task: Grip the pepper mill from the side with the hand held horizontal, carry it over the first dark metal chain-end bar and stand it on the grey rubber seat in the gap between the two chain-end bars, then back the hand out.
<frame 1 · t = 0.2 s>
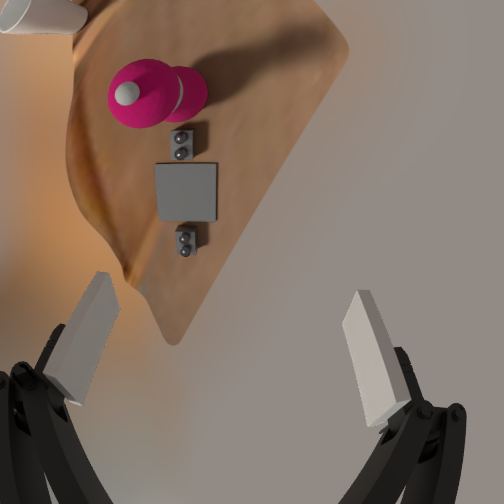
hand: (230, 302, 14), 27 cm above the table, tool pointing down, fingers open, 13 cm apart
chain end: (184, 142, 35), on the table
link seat: (185, 192, 38), on the table
pepper mill: (185, 94, 31), on the table
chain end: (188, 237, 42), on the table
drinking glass: (76, 21, 22), on the table
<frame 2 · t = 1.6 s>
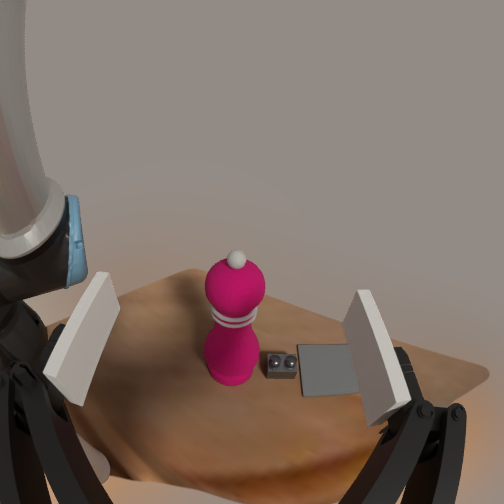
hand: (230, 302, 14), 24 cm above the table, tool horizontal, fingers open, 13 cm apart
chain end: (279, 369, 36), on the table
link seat: (329, 369, 36), on the table
pepper mill: (230, 368, 36), on the table
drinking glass: (93, 467, 20), on the table
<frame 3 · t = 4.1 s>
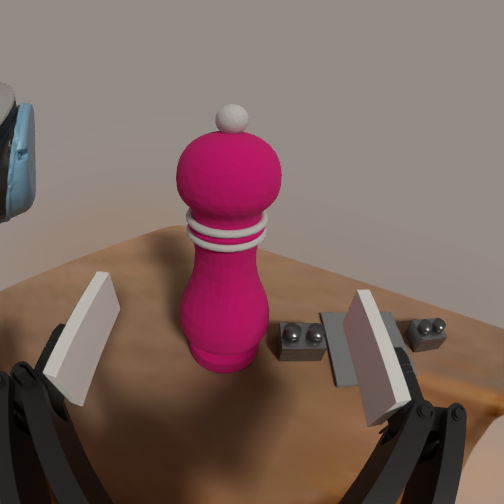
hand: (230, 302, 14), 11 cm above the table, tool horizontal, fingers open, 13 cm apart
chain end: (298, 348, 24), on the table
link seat: (368, 345, 25), on the table
pepper mill: (224, 347, 24), on the table
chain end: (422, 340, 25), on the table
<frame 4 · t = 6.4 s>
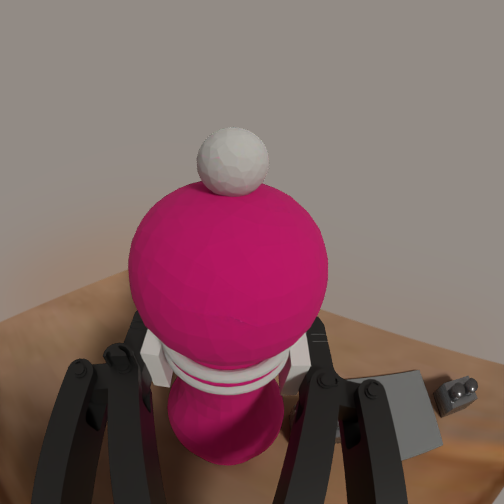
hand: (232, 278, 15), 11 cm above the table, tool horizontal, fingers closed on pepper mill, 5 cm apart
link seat: (394, 417, 18), on the table
pepper mill: (225, 430, 17), on the table, touching gripper
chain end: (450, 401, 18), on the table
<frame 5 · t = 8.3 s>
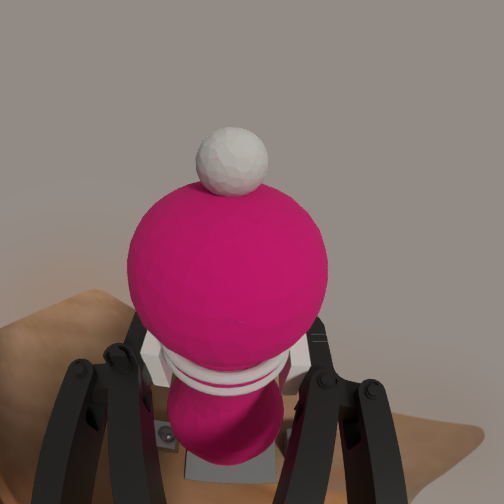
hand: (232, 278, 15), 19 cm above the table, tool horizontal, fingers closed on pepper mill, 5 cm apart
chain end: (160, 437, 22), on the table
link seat: (231, 445, 23), on the table
pepper mill: (225, 430, 17), point 8 cm above the table, touching gripper
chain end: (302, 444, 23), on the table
when the fingers open (13 cm above the table, at t = 10.1 s): pepper mill drops 1 cm, resting on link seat.
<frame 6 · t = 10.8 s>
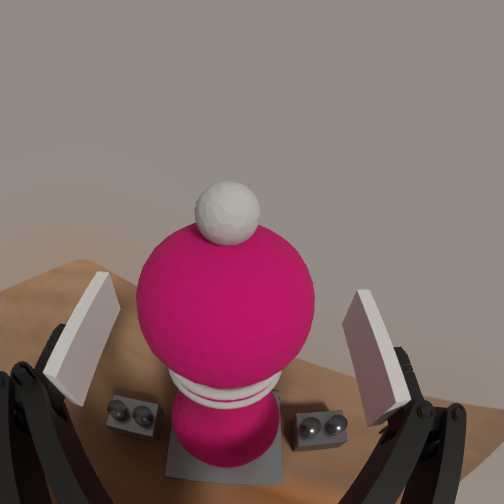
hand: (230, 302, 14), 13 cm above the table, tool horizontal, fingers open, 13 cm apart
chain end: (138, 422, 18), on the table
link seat: (225, 435, 18), on the table
pepper mill: (225, 435, 18), resting on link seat
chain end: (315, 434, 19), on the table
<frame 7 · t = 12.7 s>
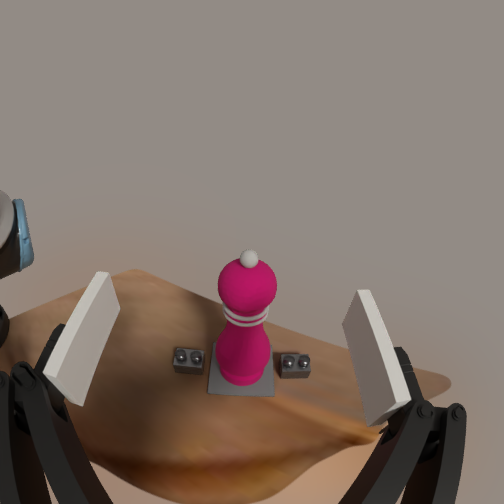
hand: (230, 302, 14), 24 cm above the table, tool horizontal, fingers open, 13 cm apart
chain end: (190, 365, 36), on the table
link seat: (241, 369, 36), on the table
pepper mill: (241, 369, 36), resting on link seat
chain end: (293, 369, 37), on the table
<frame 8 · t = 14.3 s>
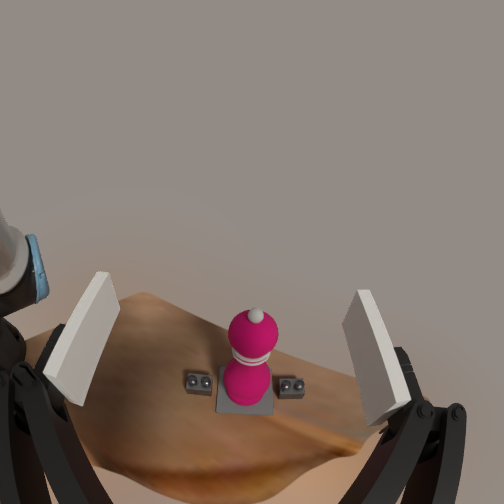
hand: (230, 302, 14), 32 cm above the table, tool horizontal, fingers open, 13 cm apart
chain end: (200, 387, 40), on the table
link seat: (245, 390, 41), on the table
pepper mill: (245, 390, 41), resting on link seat
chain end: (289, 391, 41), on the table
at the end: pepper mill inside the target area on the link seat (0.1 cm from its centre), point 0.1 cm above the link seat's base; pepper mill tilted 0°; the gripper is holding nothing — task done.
